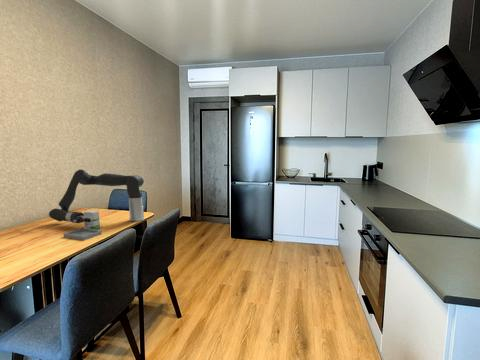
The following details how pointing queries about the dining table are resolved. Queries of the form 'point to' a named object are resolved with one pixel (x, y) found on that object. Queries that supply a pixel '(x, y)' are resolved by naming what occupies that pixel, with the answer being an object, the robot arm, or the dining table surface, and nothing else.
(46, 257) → the dining table surface
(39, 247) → the dining table surface
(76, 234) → the tray
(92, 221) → the ink box
